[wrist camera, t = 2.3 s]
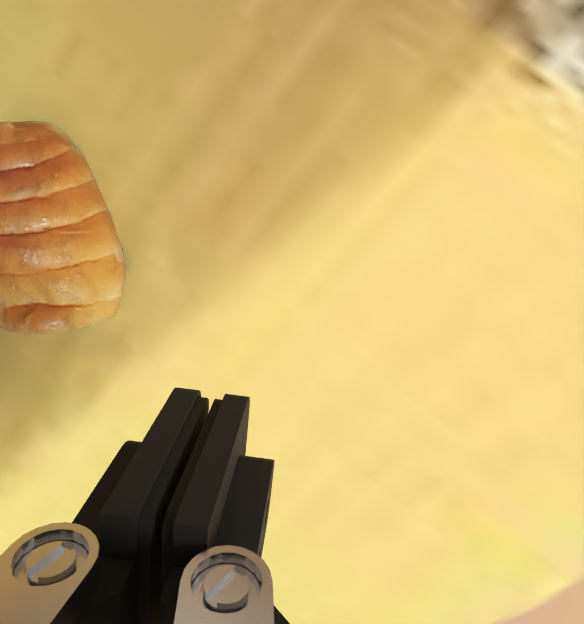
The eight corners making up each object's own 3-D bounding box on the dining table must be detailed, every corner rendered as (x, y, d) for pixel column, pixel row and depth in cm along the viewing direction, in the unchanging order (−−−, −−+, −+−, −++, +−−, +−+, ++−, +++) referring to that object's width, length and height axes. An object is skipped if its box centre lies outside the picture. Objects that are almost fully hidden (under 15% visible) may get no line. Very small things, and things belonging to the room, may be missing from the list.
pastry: (-35, 124, 23) (-100, 126, 20) (108, 116, 23) (68, 117, 19) (15, 315, 27) (-33, 346, 23) (141, 312, 26) (112, 343, 23)
